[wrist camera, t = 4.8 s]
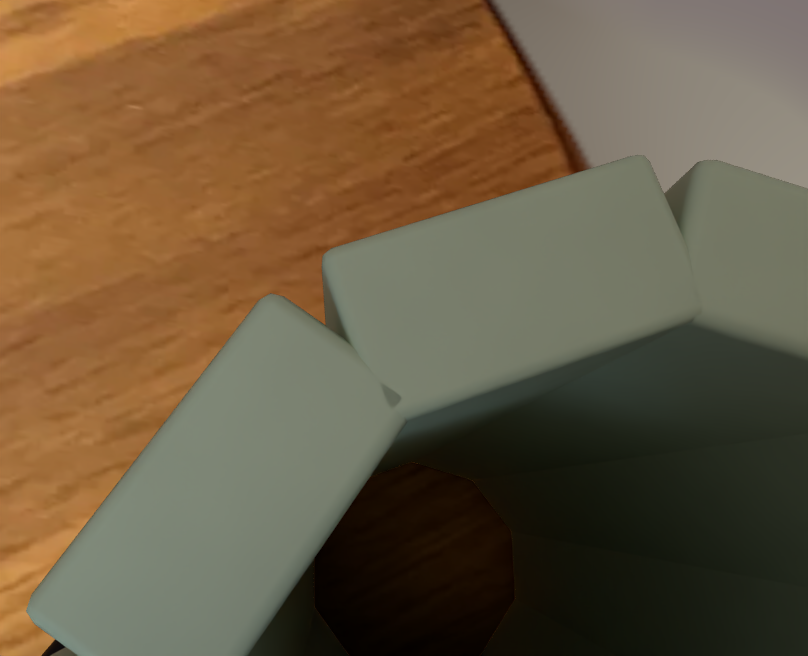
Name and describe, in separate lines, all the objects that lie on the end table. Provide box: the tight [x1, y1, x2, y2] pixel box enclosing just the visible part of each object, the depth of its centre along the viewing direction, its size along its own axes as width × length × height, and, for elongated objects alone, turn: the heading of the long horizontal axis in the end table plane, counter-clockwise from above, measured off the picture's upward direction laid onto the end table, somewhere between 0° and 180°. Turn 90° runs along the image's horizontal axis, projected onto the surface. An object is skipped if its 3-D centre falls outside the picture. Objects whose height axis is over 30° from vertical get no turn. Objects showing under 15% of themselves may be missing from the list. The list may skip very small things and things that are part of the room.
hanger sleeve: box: [26, 155, 808, 656], centre depth 9 cm, size 6×6×13 cm
